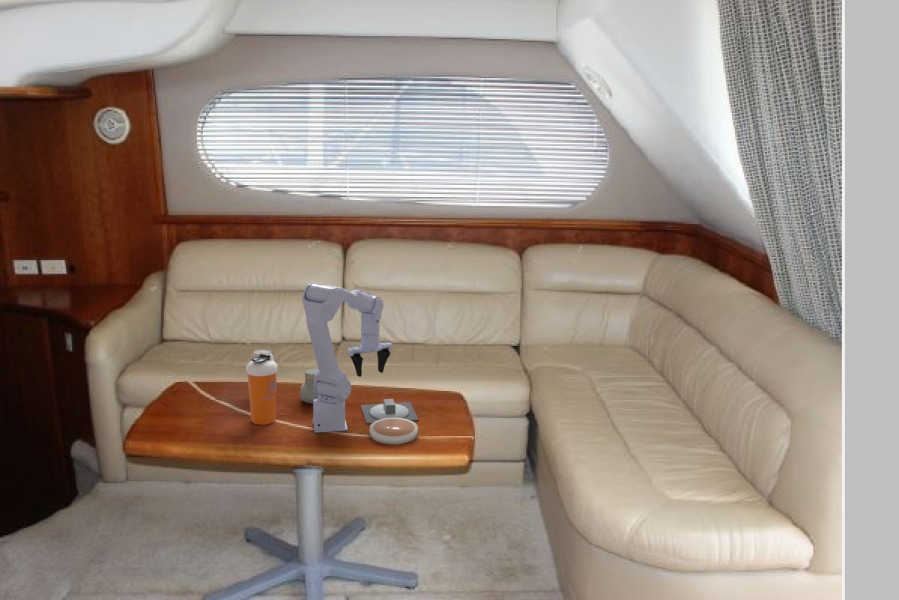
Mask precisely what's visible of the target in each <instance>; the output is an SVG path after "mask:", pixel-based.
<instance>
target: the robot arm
mask: <svg viewBox="0 0 899 600" xmlns="http://www.w3.org/2000/svg"><path fill="white" fill-rule="evenodd" d="M301 301H302V305H303V308H304V314H305V318H306V320H305V321H306V326H307V331H308V335H309V337H310V342H311V345H312V348H313V353H314V356H315V359H316V364H317V369H319V370H318V371H317V372H316V373H315V375H314V377H313V378H314V391H315V393H316V394H318V399H314V400H313V404H312V405H313V406H312V409H313V410H312V416H313V417H312V424H313V428H314V429H313V430H314V433H329V432H346V431H348V425H347V421H346V400H347V399H348V398H349V396H350V395H351V391H352V383H351V381H350V379H348V376H347V374H346V373H345V372H344V371H343V370H342V369H341V368H340V367H339V366H338V362H337V358H336V357H337V356H336V353H335V348H334V346H333V340H332V337H331V333H330V328H329V325H328V322H331V321H332V320H333V319H334V318H335V316H336V315H337V313H338V311H339V309H340V307H341V305H342V304H344V302H345V303H346V304H347V306H348V307H349V309H353V310H355V311H358V313H360V345H356V346H353V347H349V348H347V355H348V356H349V357H350V359H351V361H352V363H353V365H354V368H355V373H356V376H357V377H362V375H363V373H362V372H363V370H362V366H363V362H364V357H362V355H361V354H369V353H376V355H377V371H378V373H380V374H383V373H384V369H385V366H386V363H387V361H388V358H389V357H390V356H391V350H392V348H393V343H392V342H380V320H381V319H382V313H383V310H384V306H385V305H384V302H383V299H381V297H380V296H376V295H372V294H371V292H364V289H361V288H357V289H354V290H348V289H345V288H343V287H340V286H333V285H328V284H327V285H326V284H320V283H319V284H316V283H308V285H306V287H305V288H304V290H303V294H302V296H301Z"/></svg>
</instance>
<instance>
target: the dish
mask: <svg viewBox="0 0 899 600" xmlns="http://www.w3.org/2000/svg"><path fill="white" fill-rule="evenodd" d="M418 433H419V426H418V425H417V423H416V422H415V421H410V420H408V419H403V418H384V419H380V420H377V421H375V422H373V423H372V424H369V436H370V437H369V438H371V439H372V440H373V441H375V442H378V443H380V444H385V445H402V444H407V443H411V442H412V441H414V440H415V439H417V437H418V436H419V435H418Z"/></svg>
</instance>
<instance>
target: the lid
mask: <svg viewBox="0 0 899 600" xmlns="http://www.w3.org/2000/svg"><path fill="white" fill-rule="evenodd" d="M395 403H396V402H395V400H394V398H384V399H383V402H382V403H379V404H380V405H377V406H374V407H372V408H371V409H370V415H371V416H372V417H374V418H376V419H379V420H380V419H384V418H405V417H406V416H408V414H409V410H408V409H407V408H406V407H405V406H402V405H399V404H395Z"/></svg>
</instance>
